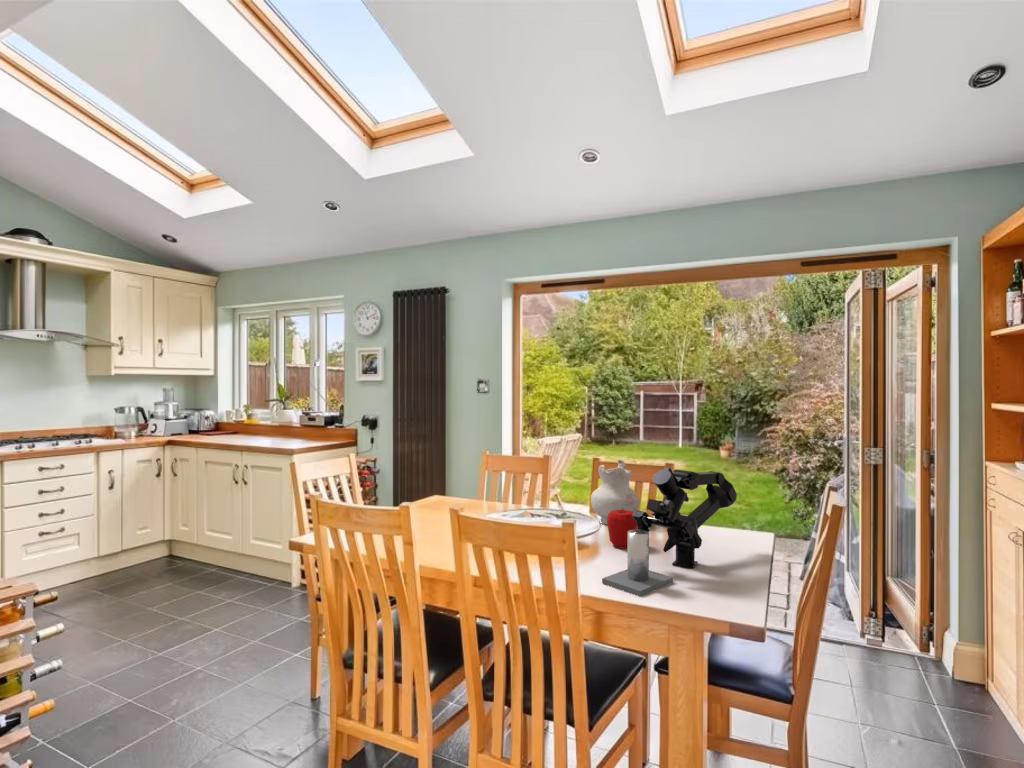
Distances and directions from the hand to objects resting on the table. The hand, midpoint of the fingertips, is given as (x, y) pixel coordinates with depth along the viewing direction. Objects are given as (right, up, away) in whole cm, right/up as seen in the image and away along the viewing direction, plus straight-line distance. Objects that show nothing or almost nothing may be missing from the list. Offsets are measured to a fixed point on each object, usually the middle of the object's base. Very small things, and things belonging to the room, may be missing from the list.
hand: (650, 547), depth 167 cm
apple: (-2, -9, +32) cm, 33 cm away
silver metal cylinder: (-5, -7, -4) cm, 10 cm away
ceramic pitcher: (+2, -9, +67) cm, 68 cm away
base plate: (-5, -9, -4) cm, 11 cm away
